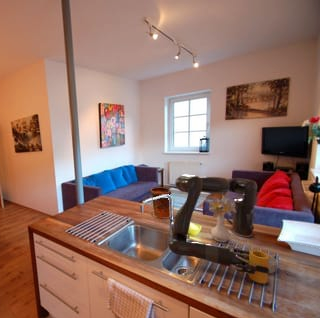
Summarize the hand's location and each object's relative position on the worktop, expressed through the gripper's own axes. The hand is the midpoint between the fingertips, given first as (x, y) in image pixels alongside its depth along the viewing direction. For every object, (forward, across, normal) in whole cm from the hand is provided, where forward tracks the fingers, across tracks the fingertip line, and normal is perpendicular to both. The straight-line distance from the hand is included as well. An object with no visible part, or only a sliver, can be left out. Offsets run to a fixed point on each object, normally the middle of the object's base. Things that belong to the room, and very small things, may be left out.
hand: (266, 265), depth 82 cm
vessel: (-50, +50, +8) cm, 72 cm away
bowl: (0, +12, +8) cm, 14 cm away
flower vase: (-14, +29, +8) cm, 33 cm away
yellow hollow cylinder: (-2, 0, +6) cm, 7 cm away
